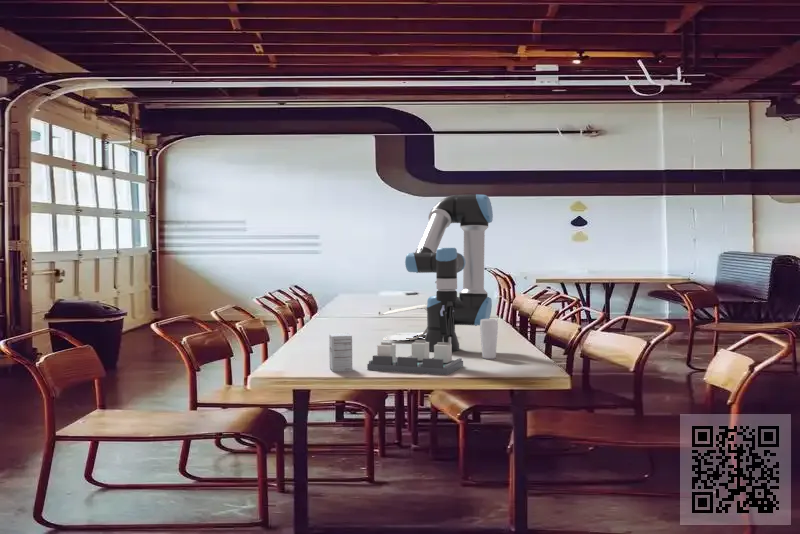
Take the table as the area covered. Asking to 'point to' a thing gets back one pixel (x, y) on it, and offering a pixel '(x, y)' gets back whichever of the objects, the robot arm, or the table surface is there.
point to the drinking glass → (489, 337)
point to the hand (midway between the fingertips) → (447, 354)
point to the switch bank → (414, 365)
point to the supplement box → (340, 352)
